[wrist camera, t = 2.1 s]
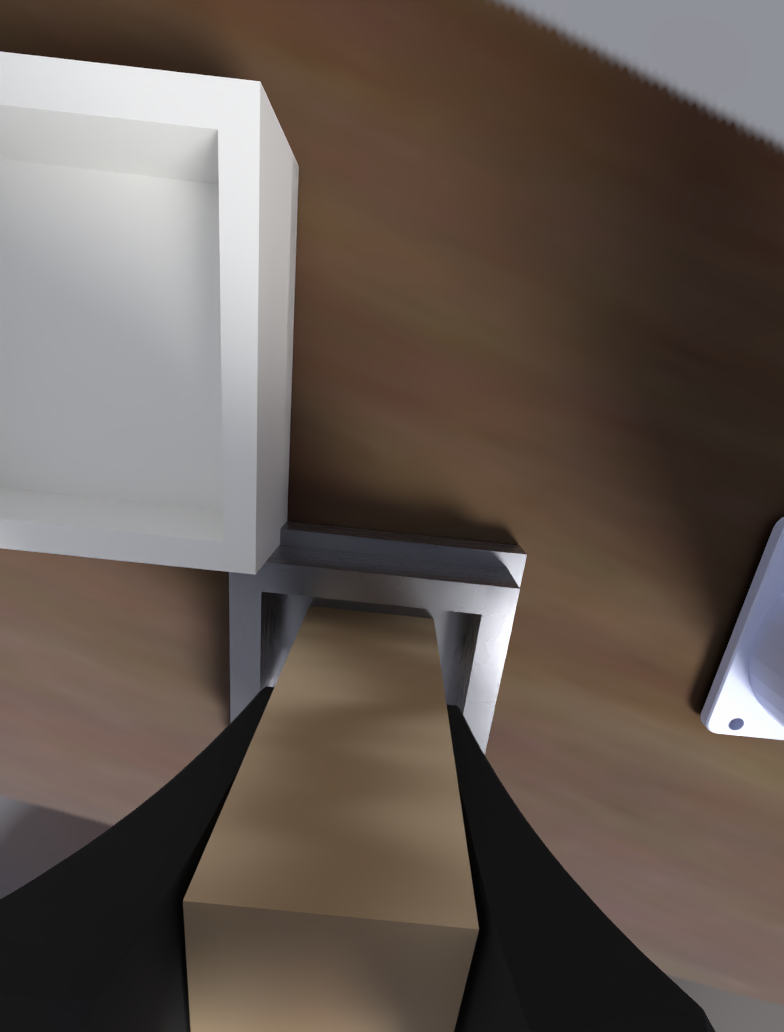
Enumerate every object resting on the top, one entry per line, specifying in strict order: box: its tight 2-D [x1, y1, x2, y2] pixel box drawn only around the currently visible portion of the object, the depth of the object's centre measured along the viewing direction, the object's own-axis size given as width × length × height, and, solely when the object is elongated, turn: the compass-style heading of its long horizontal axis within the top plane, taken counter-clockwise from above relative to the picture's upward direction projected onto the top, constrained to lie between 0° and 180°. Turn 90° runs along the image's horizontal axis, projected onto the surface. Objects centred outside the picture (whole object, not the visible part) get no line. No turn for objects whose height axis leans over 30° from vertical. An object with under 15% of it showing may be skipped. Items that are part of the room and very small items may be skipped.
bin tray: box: [0, 52, 299, 575], centre depth 10 cm, size 10×10×3 cm
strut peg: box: [183, 606, 479, 1032], centre depth 10 cm, size 4×4×8 cm
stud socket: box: [229, 521, 527, 755], centre depth 14 cm, size 9×9×2 cm
